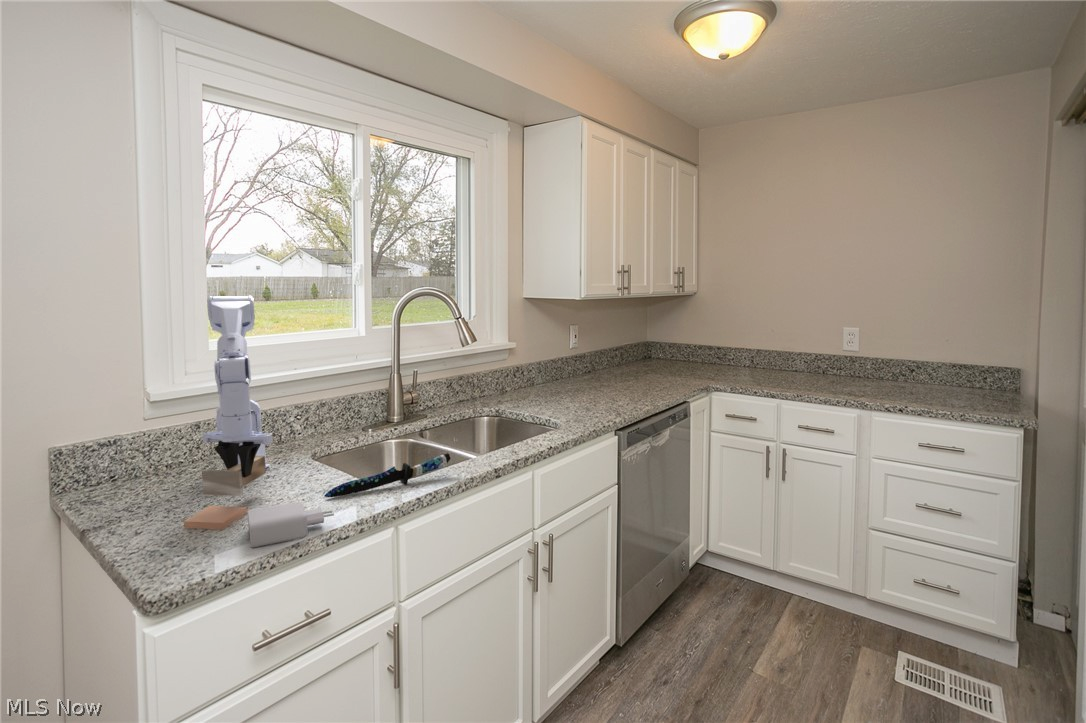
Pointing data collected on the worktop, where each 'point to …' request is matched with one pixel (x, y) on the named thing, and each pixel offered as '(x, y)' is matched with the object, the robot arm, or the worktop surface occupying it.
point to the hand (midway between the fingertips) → (240, 475)
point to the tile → (215, 517)
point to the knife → (389, 477)
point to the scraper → (231, 478)
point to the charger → (282, 523)
